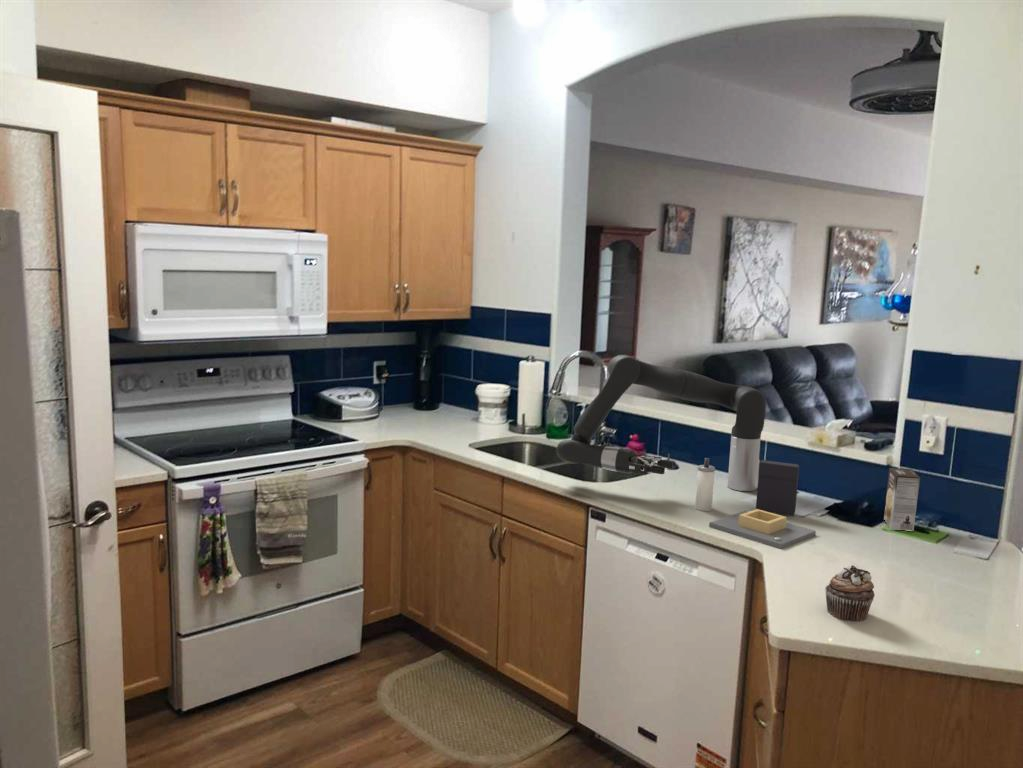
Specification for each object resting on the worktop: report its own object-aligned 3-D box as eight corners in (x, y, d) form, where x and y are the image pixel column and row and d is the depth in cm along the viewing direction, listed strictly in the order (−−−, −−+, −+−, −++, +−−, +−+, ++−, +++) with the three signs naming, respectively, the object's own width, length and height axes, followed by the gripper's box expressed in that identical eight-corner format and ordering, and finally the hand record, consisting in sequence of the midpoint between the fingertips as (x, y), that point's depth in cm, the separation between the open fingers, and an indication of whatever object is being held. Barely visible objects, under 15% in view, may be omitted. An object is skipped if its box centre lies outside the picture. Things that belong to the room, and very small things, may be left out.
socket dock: (744, 514, 241) (746, 500, 240) (815, 534, 225) (816, 520, 224) (709, 526, 229) (710, 512, 228) (780, 548, 213) (782, 533, 212)
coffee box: (882, 520, 240) (888, 467, 237) (906, 522, 239) (912, 468, 236) (890, 530, 231) (896, 475, 228) (915, 532, 230) (921, 476, 227)
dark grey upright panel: (795, 513, 244) (799, 463, 242) (793, 516, 240) (798, 467, 238) (757, 507, 249) (761, 459, 247) (755, 511, 245) (759, 462, 243)
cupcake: (835, 600, 181) (839, 557, 180) (879, 615, 174) (884, 570, 173) (814, 612, 175) (818, 567, 173) (859, 627, 168) (864, 581, 166)
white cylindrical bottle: (701, 505, 249) (704, 455, 247) (715, 509, 245) (719, 459, 243) (691, 508, 246) (694, 457, 243) (705, 512, 242) (709, 461, 240)
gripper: (611, 452, 250) (662, 460, 242) (627, 443, 262) (676, 451, 255) (609, 476, 251) (660, 485, 243) (625, 466, 263) (674, 475, 256)
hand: (668, 468), depth 249 cm, fingers open, 8 cm apart
